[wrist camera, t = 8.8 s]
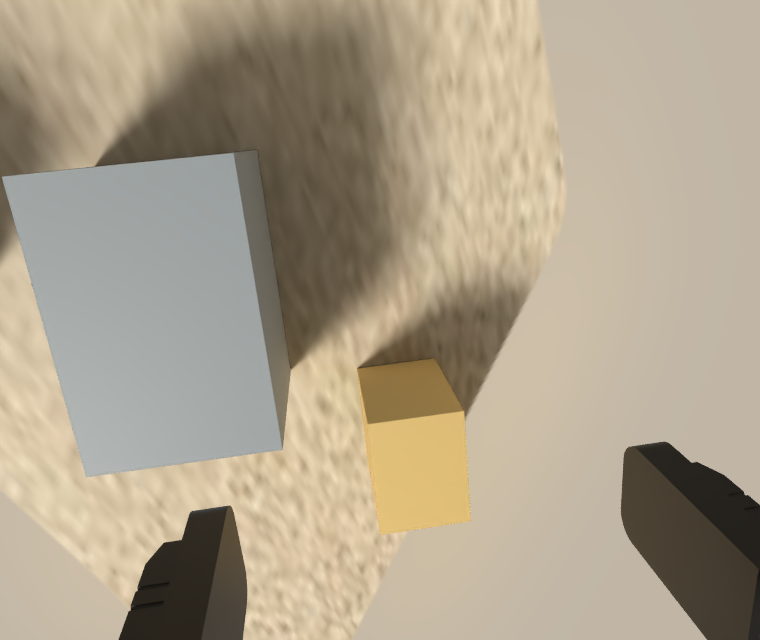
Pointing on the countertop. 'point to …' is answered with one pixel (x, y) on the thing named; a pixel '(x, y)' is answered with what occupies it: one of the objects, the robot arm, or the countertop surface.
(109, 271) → the block
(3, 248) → the countertop surface
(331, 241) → the countertop surface
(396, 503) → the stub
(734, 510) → the robot arm
